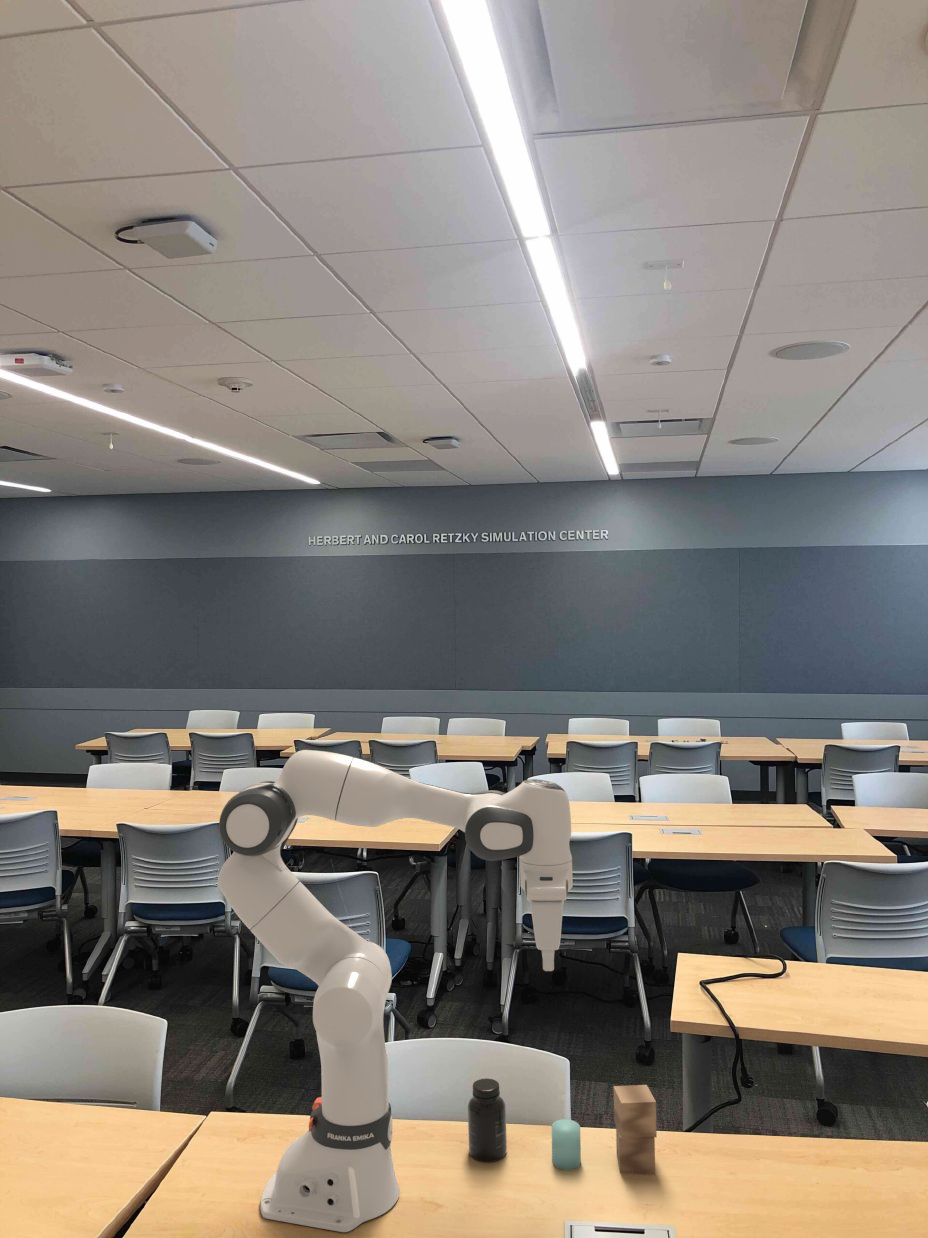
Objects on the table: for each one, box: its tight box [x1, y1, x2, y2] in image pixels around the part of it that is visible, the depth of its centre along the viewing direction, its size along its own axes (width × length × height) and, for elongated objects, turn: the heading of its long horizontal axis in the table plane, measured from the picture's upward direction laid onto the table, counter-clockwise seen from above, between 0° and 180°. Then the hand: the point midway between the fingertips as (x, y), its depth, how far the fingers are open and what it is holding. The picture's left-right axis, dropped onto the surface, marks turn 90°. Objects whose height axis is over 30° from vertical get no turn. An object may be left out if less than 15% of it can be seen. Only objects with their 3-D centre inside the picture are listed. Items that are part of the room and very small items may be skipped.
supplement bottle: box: [467, 1078, 508, 1163], centre depth 159 cm, size 7×7×12 cm
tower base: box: [615, 1125, 656, 1175], centre depth 155 cm, size 6×6×6 cm
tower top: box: [613, 1084, 658, 1139], centre depth 156 cm, size 6×6×6 cm
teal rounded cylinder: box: [551, 1118, 582, 1171], centre depth 156 cm, size 5×5×6 cm
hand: (548, 959), depth 150 cm, fingers open, 8 cm apart
